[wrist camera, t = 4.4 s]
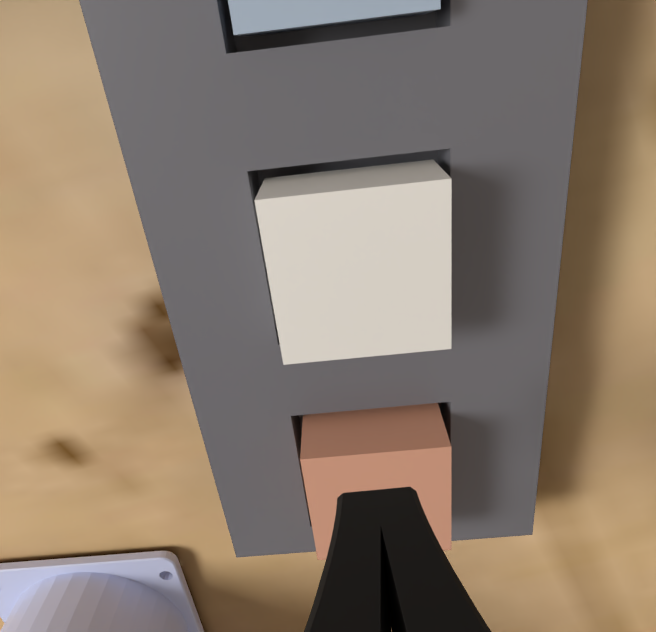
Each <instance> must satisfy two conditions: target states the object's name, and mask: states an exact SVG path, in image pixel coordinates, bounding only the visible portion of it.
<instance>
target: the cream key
mask: <svg viewBox="0 0 656 632" xmlns="http://www.w3.org/2000/svg"><path fill="white" fill-rule="evenodd" d="M254 201H255V207H256V212H257V218H258V224H259V229H260V235H261V241H262V246H263V252H264V258H265V263H266V269H267V275H268V280H269V286H270V292H271V297H272V303H273V309H274V314H275V320H276V326H277V331H278V337H279V343H280V348H281V354H282V360H283V365H287V364H297V363H308V362H318V361H329V360H340V359H350V358H361V357H371V356H382V355H393V354H403V353H414V352H424V351H435V350H446V349H451V212H452V179H451V178H450V176H449V175H448V174H447V173H446V172H445V171H444V170H443V169H442V168H441V167H440V166H439V165H438V164H437V163H436V162H435V161H434V160H433V159H432V160H423V161H414V162H405V163H396V164H387V165H378V166H369V167H360V168H351V169H342V170H333V171H324V172H315V173H307V174H298V175H289V176H280V177H271V178H265V179H264V181H263V183H262V185H261V187H260V189H259V191H258V194H257V196H256V198H255V200H254Z"/></svg>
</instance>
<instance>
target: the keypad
mask: <svg viewBox="0 0 656 632" xmlns="http://www.w3.org/2000/svg"><path fill="white" fill-rule="evenodd" d="M587 1H588V0H441V9H439V10H436V11H433V12H430V13H427V14H424V15H417V16H409V17H401V18H393V19H385V20H377V21H369V22H361V23H353V24H345V25H337V26H329V27H321V28H313V29H305V30H297V31H289V32H281V33H273V34H265V35H257V36H249V37H246V36H238V35H234V34H233V28H232V22H231V16H230V10H229V4H228V0H79V2H80V5H81V9H82V12H83V16H84V19H85V23H86V26H87V30H88V33H89V37H90V41H91V44H92V48H93V51H94V55H95V58H96V62H97V65H98V69H99V72H100V76H101V79H102V83H103V87H104V90H105V94H106V97H107V101H108V104H109V108H110V111H111V115H112V118H113V122H114V125H115V129H116V132H117V136H118V140H119V143H120V147H121V150H122V154H123V157H124V161H125V164H126V168H127V171H128V175H129V178H130V182H131V186H132V189H133V193H134V196H135V200H136V203H137V207H138V210H139V214H140V217H141V221H142V224H143V228H144V232H145V235H146V239H147V242H148V246H149V249H150V253H151V256H152V260H153V263H154V267H155V270H156V274H157V278H158V281H159V285H160V288H161V292H162V295H163V299H164V302H165V306H166V309H167V313H168V316H169V320H170V324H171V327H172V331H173V334H174V338H175V341H176V345H177V348H178V352H179V355H180V359H181V362H182V366H183V370H184V373H185V377H186V380H187V384H188V387H189V391H190V394H191V398H192V401H193V405H194V408H195V412H196V416H197V419H198V423H199V426H200V430H201V433H202V437H203V440H204V444H205V447H206V451H207V454H208V458H209V462H210V465H211V469H212V472H213V476H214V479H215V483H216V486H217V490H218V493H219V497H220V500H221V504H222V508H223V511H224V515H225V518H226V522H227V525H228V529H229V532H230V536H231V539H232V543H233V546H234V550H235V553H236V557H248V556H261V555H274V554H287V553H300V552H313V551H316V547H315V541H314V536H313V530H312V524H311V519H310V513H309V507H308V501H307V496H306V490H305V484H304V479H303V473H302V467H301V462H300V453H301V437H302V422H303V415H307V414H318V413H329V412H340V411H352V410H363V409H374V408H385V407H396V406H407V405H419V404H430V403H438V405H439V408H440V412H441V415H442V418H443V421H444V424H445V428H446V431H447V434H448V437H449V440H450V444H451V541H456V540H469V539H482V538H495V537H508V536H521V535H532V532H533V523H534V513H535V503H536V494H537V484H538V474H539V465H540V455H541V445H542V436H543V426H544V416H545V407H546V397H547V387H548V378H549V368H550V358H551V349H552V339H553V329H554V320H555V310H556V300H557V291H558V281H559V271H560V262H561V252H562V242H563V233H564V223H565V214H566V204H567V194H568V185H569V175H570V165H571V156H572V146H573V136H574V127H575V117H576V107H577V98H578V88H579V78H580V69H581V59H582V49H583V40H584V30H585V20H586V11H587ZM432 159H433V160H434V161H435V162H436V163H437V164H438V165H439V166H440V167H441V168H442V169H443V170H444V171H445V172H446V173H447V174H448V175H449V176H450V178H451V179H452V212H451V349H446V350H435V351H424V352H414V353H403V354H393V355H382V356H371V357H361V358H350V359H340V360H329V361H318V362H308V363H297V364H287V365H283V360H282V354H281V348H280V343H279V337H278V331H277V326H276V320H275V314H274V309H273V303H272V297H271V292H270V286H269V280H268V275H267V269H266V263H265V258H264V252H263V246H262V241H261V235H260V229H259V224H258V218H257V212H256V207H255V201H254V200H255V198H256V196H257V194H258V191H259V189H260V187H261V185H262V183H263V181H264V179H265V178H271V177H280V176H289V175H298V174H307V173H315V172H324V171H333V170H342V169H351V168H360V167H369V166H378V165H387V164H396V163H405V162H414V161H423V160H432Z"/></svg>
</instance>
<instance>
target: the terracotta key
mask: <svg viewBox="0 0 656 632" xmlns="http://www.w3.org/2000/svg"><path fill="white" fill-rule="evenodd" d="M300 462H301V467H302V473H303V479H304V484H305V490H306V496H307V501H308V507H309V513H310V519H311V524H312V530H313V536H314V541H315V547H316V553H317V558H318V560H324V559H326V558H327V554H328V550H329V546H330V542H331V537H332V532H333V527H334V521H335V515H336V507H337V498H338V497H339V496H340V495H341V494H342V493H347V492H358V491H368V490H379V489H390V488H401V487H411V488H413V489H414V490H416V491H417V494H418V497H419V500H420V503H421V505H422V508H423V510H424V513H425V515H426V517H427V519H428V522H429V524H430V526H431V528H432V530H433V532H434V534H435V536H436V538H437V540H438V542H439V544H440V546H441V548H442V550H451V444H450V440H449V437H448V434H447V431H446V428H445V424H444V421H443V418H442V415H441V412H440V408H439V405H438V403H430V404H419V405H407V406H396V407H385V408H374V409H363V410H352V411H340V412H329V413H318V414H307V415H303V422H302V437H301V453H300Z"/></svg>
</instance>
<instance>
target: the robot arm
mask: <svg viewBox="0 0 656 632" xmlns="http://www.w3.org/2000/svg"><path fill="white" fill-rule="evenodd" d="M0 617H1V618H2V620H3V622H4V623H5V624H4V625H3V627H2V629H1V631H0V632H204V630H203V627H202V624H201V621H200V619H199V616H198V613H197V610H196V608H195V605H194V602H193V599H192V596H191V594H190V591H189V588H188V585H187V583H186V580H185V577H184V574H183V572H182V569H181V566H180V563H179V560H178V558H177V557H176V555H175V554H173V553H172V552H169V551H150V552H138V553H125V554H112V555H99V556H86V557H74V558H61V559H48V560H35V561H22V562H10V563H0ZM391 628H392V632H491V631H490V629H489V628H488V626H487V624H486V623H485V621H484V620H483V618H482V616H481V615H480V613H479V612H478V610H477V609H476V607H475V605H474V604H473V602H472V600H471V599H470V597H469V595H468V594H467V592H466V590H465V588H464V587H463V585H462V583H461V582H460V580H459V578H458V577H457V575H456V573H455V572H454V570H453V568H452V566H451V564H450V563H449V561H448V559H447V557H446V555H445V554H444V552H443V550H442V548H441V546H440V544H439V542H438V540H437V538H436V536H435V534H434V532H433V530H432V528H431V526H430V524H429V522H428V519H427V517H426V515H425V513H424V510H423V508H422V505H421V503H420V500H419V497H418V494H417V491H416V490H414V489H413V488H411V487H401V488H390V489H379V490H368V491H358V492H347V493H342V494H341V495H340V496H339V497H338V498H337V507H336V515H335V521H334V527H333V532H332V537H331V542H330V546H329V550H328V554H327V558H326V562H325V566H324V570H323V573H322V576H321V580H320V583H319V587H318V590H317V593H316V597H315V600H314V604H313V607H312V610H311V613H310V616H309V619H308V622H307V625H306V628H305V630H304V632H391Z"/></svg>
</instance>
